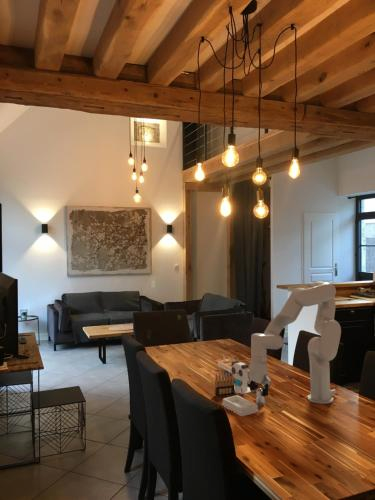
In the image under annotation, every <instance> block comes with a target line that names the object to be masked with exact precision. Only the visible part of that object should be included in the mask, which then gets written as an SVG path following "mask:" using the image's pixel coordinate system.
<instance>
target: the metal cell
mask: <svg viewBox="0 0 375 500" xmlns="http://www.w3.org/2000/svg"><path fill="white" fill-rule="evenodd" d="M262 388H263V387H262ZM262 388H261V387H258V388H256V389H255V394H256V395H255V398H256V400H255V402H256V403H255V404H257V407H259V406H260V407H263V406H266V405H265V403H266V401H265V396H262Z"/></svg>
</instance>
